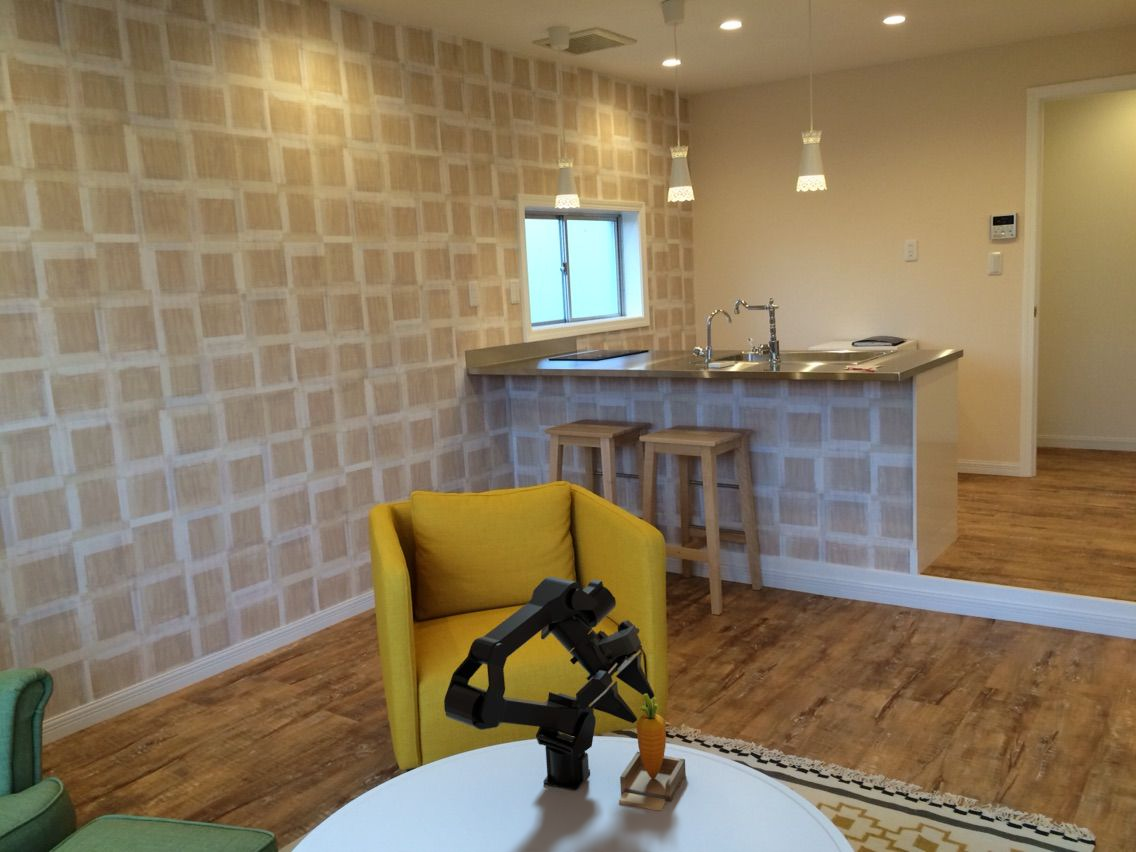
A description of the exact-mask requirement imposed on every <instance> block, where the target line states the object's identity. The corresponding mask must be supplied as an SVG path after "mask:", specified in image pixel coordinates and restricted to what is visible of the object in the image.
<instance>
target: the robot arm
mask: <svg viewBox="0 0 1136 852" xmlns="http://www.w3.org/2000/svg"><path fill="white" fill-rule="evenodd" d="M616 606H617V601H616V598H615V596H614V595H613V593H612V592H611V591H610V590H609V589H608V588H607V587H606V586H604V584H603V581H602V580H599V579H592V580H591V581H590V582H589V583H588V584H587V585H586V586H585V587H584V588H583V587H582V585H581V584H580V583H579V582H578V581H575V580H571V579H565V578H562V577H561V578H560V577H556V576H551V575H549V576H546V577H545V578H544V579H543V580H542V581H541V582H540V583H539V584H538V585H537V586H536V587H535V588H534V589H533V590H532V595H531V599H530V600H529V601H528V602H527V603H526V604H525V605H523V606H522V607H521V608H519V609H518V610H516V612H514V613H512V614H511V615H510V616H509V617H508V618H506V619H504V621H502V622H501V623H499V624H498V625H497V626H495V627H494V628H492V629H491V630H490V631H489V632H488V633H486V634H485V635H483V636H481V637H477V638H475V639H474V640H473V641H472V643H471V645H470V647H469V651H468V653H467V657H466V658H465V659H464V660H463V661H462V662H461V663H460V665H458V667H457V668H456V669H455V671H454V672H453V673H452V676H451V678H450V682H449V685H448V687H447V691H446V694H445V695H444V703H443V704H444V705H443V706H444V712H445V716H446V717H447V718H448V719H451V720H454V721H456V722H459V723H462V724H464V725H466V726H469V727H471V728H475V729H477V730H479V731H483V730H484V731H485V730H491V729H496V728H498V727H499V726H500V725H501V724H511V725H520V726H529V727H539V728H538V730H537V732H536V734H535V739H536V741H537V744H538V745H540V746H545V759H546V760H545V762H546V763H545V764H546V773H547V774H546V777H545V778H544V779H543V784H544V785H547V786H551V787H552V786H553V787H558V788H562V789H563V788H564V789H569V790H574V791H578V789H579V788H580V787H581V785H582V784H583V783H584V782H585V780H586V779H587V778H588V776H590V773H591V769H590V768H589V753H588V752H586V751H587V750H589V749H591V748H592V746H593V740H594V733H595V729H596V723H597V721H596V716H595V713H594V710H596V711H600V712H603V713H606V714H608V715H610V716H611V715H612V716H614V717H616V718H619V719H621V720H623V721H626V722H629V723H631V724H634V723H637V721H638V717H637V716H636V714H635V713H634V712H633V710H632V709H631V707H630V706H629V705H628V704H627V702H626V701H625V700H624V699H623V697H622V696H621V695H620V694H619V690H618V689H619V688H618V681H617V680H615V682H614V681H613V676H614V675H615V673H617V672H618V673H617V674H616V675H615V677H616V678H617V679H619V680H620V681H621V682H623V683H624V684H626V685H627V686H629V687H630V688H632V689H633V690H635V691H636V692H638V693H639V694H641V695H642V696H643V695H644V694H648V696H649V698H650V700H653V698H655V693H654V690H653V689H652V687H651V685H650V682H649V681H648V679H647V677H646V675H645V673H644V671H643V668H642V664H641V663H642V655H643V652H642V651H640V650H641V649H642V648H643V646H642V641H641V639H640V638H639V633H640V628H638V627H636V624H633V623H632V622H631V621H630V620H628V619H627V620H626V619H625V620H623V621H621V622H620V623H619V624H618V625H617V631H614V633H611V634H609V635H608V634H607V633H605V631H604V630H603V631H602V630H599V631H598V632H596V631H595V629H593V628H595V627H597V626H598V625H599V624H600V623H601V622H602V621H603V620H604V619H605V618H606V617H608V615H610V613H611V612H612V611H613V610H614V609H615V608H616ZM538 633H540V639H541V640H545V639H546V638H547V637H549V635H551V634H552V635H553V636H554V639H555V638H556V640H557V641H558V642H559V643H560V644H561V645H562V646H563V648H564V649H566V651H567V652H568V653H569V654H570V655H571V657H572V658H571V659H569V661H570V662H571V664H572V665H575V664H576V663H579V665H580V666H581V668H583V670H585V671H586V672H587V674H588V676H587V677H586V678H585V679H586V680H587V682H586V683H584V684H583V685H582V687H581V688H580V689H579V690H578V691H577V692H576V693H575V697H574V696H571V695H568V694H565V693H562V692H560V693H558V694H557V693H554V692H552V691H548V696H547V697H548V699H546V700H545V701H544V702H543V701H538V700H537V701H535V700H530V699H521V698H516V697H515V698H514V697H509V696H505V692H506V683H505V672H504V671H505V670H504V669H505V668H504V667H505V665H506V662H507V660H508V657H510V656H512V654H514V653H515V652H516V651H517V650H518V649H520V648H521V647H522V646H524V645H525V644H526V643H527V642H528V641H530V640H531V639H533V637H534V636H536V635H537V634H538ZM639 651H640V652H639ZM637 653H638V654H637ZM482 665H485V666H487V667H486V668H487V679H488V686H487V689H482V688H481V687H476V686H474V685H471V684H469V682H470V679H471V678H472V677H473V676H474V675H475V673H476V672H477V671H478V670H480V668H481V667H482ZM613 682H614V683H613ZM612 683H613V684H612Z"/></svg>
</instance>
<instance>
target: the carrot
mask: <svg viewBox="0 0 1136 852" xmlns="http://www.w3.org/2000/svg"><path fill="white" fill-rule="evenodd" d="M642 696H643V699H644V701H645V703H646V705H647V706H646V705H645V704H642V705H641V706H639V709H640V710H641V711H644V712H645V714H642V715H641V716H639V718H638V719H637V721H636V736H637V745H638V752H640V756H641V759H642V763H643V765H644V767H645V770H646V771H647V773H648V775H649V776H650V777H651V778H652V779H654V778H656V776H657V774H658V772H659V770H660V768H661V765H662V762H663V758H664V756H665V751H666V745H667V744H666V743H667V741H666V739H667V732H666V731H667V729H666V728H667V723H666V720H665V719H664V718H663V717H662V716H661V715H660V714H657V709H658V707H659V704H658V699H657V698H656V697H653V698H652V701H651V699H650V698H649V696H648V694H644V695H642Z"/></svg>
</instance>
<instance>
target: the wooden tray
mask: <svg viewBox="0 0 1136 852" xmlns="http://www.w3.org/2000/svg"><path fill="white" fill-rule="evenodd" d="M686 775H687V774H686V759H685V758H680V757H672V756H667V755H664V758H663V762H662V765H661V768H660V770H659V772H658V774H657V776H656V778H654V779H652V778H651V777H650V776H649V775H648V773H647V771H646V770H645V767H644V765H643V763H642V759H641V756H640V751H636V753H635V754H634V755H633V757H632V758H631V760H630V761H629V763H628V765H626V767H625V769H624V770H623V772H622V773H621V775H620V776H619V780H620V782H619V783H620V793H621V794H622V795H621V796H620V798H619V799H618V803H619V804H620V805H621V804H622V805H628V806H633V807H639V808H643V809H649V810H654V811H660V812H662V809H663V807H664V806H665V804H666V803H667V802H668V803H669V802H670V803H672V800H673V799H674V797H675V795H676V793H677V791H678V790H679V788H680V786H681V784H682V782H683V780H684V779H685V777H686Z"/></svg>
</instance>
